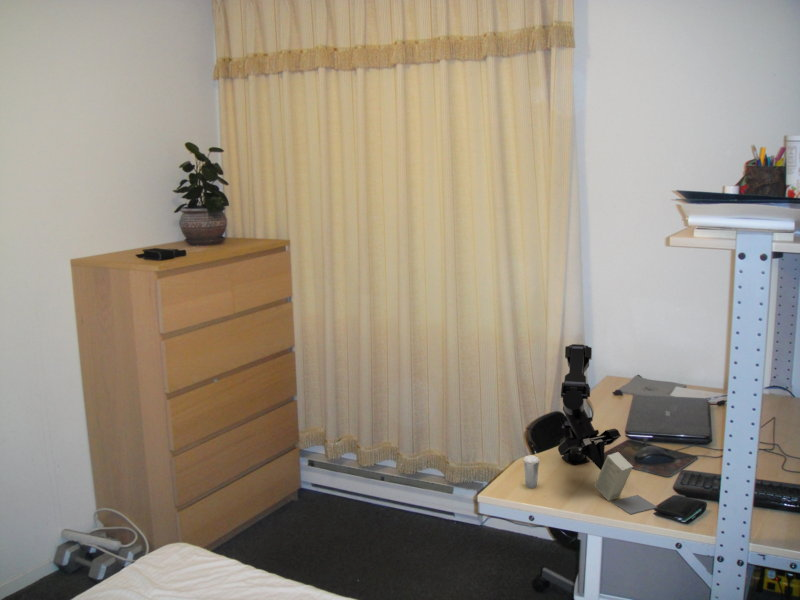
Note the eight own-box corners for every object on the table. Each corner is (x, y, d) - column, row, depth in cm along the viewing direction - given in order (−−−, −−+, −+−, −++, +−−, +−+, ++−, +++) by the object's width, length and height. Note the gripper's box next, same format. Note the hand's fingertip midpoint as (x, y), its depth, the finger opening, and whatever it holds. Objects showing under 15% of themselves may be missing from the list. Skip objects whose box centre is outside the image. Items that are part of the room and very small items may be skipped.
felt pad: (637, 495, 197) (637, 494, 197) (657, 507, 189) (657, 506, 189) (611, 502, 194) (611, 501, 193) (630, 514, 186) (630, 513, 186)
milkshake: (542, 489, 202) (542, 457, 201) (523, 488, 203) (523, 456, 202) (542, 483, 207) (542, 451, 205) (523, 482, 208) (523, 450, 206)
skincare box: (619, 497, 196) (634, 467, 190) (607, 501, 194) (622, 471, 187) (604, 481, 200) (618, 451, 194) (592, 485, 198) (607, 454, 192)
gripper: (590, 426, 213) (613, 474, 205) (539, 437, 206) (562, 487, 198) (609, 409, 205) (634, 458, 197) (557, 420, 197) (581, 471, 189)
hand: (602, 469), depth 195 cm, fingers closed
